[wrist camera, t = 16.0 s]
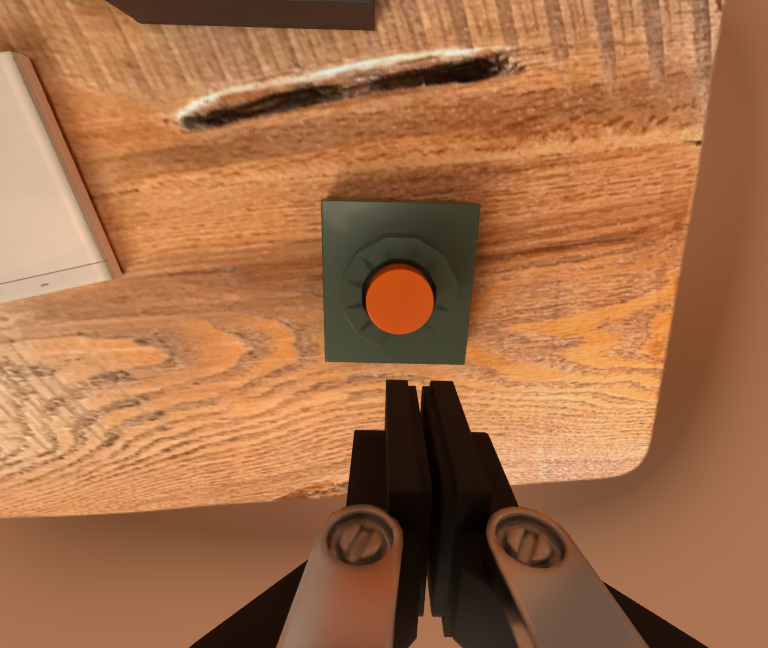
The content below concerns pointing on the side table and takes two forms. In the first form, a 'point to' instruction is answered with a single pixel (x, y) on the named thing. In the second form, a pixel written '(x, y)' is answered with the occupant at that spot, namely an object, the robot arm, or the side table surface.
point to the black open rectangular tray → (254, 13)
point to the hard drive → (42, 197)
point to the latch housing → (388, 246)
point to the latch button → (399, 299)
